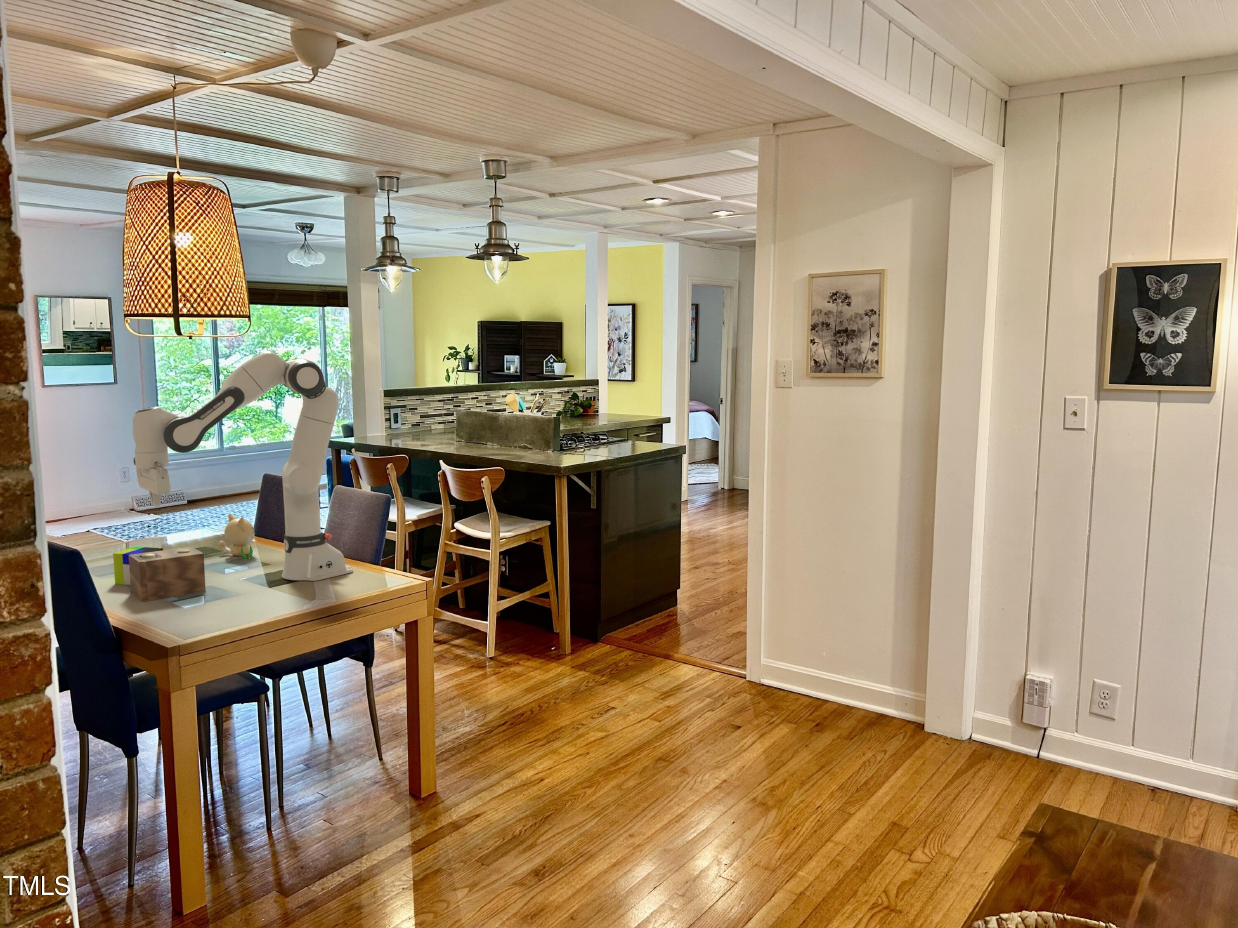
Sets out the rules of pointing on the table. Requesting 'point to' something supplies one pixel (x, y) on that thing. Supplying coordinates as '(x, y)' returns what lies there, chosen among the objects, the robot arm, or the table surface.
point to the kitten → (238, 537)
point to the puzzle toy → (127, 563)
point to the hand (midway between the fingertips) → (156, 505)
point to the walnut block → (167, 573)
